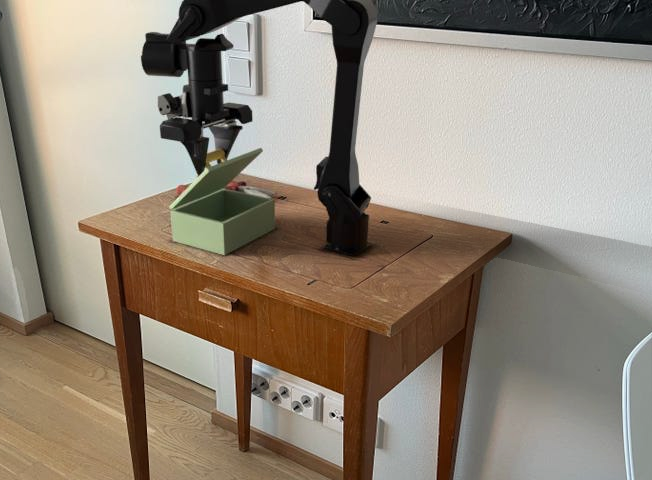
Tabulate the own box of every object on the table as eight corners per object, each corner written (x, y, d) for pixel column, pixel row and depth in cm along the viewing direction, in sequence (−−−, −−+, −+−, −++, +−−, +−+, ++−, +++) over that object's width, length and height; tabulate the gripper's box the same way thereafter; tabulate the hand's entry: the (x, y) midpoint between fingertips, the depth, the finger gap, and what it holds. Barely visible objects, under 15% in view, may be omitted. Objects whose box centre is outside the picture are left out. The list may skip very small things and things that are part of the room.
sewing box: (275, 228, 137) (274, 199, 135) (224, 255, 126) (223, 223, 124) (224, 216, 143) (223, 188, 140) (172, 241, 132) (170, 210, 129)
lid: (263, 150, 131) (249, 129, 131) (209, 171, 120) (193, 148, 120) (224, 187, 140) (211, 168, 140) (170, 210, 129) (156, 188, 129)
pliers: (262, 209, 147) (262, 196, 145) (174, 197, 153) (173, 185, 152) (284, 193, 156) (284, 181, 154) (200, 182, 162) (199, 170, 161)
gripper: (203, 66, 133) (208, 153, 141) (130, 82, 119) (140, 176, 127) (253, 72, 127) (255, 161, 135) (182, 89, 114) (190, 187, 122)
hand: (210, 171), depth 130 cm, fingers closed on lid, 5 cm apart
